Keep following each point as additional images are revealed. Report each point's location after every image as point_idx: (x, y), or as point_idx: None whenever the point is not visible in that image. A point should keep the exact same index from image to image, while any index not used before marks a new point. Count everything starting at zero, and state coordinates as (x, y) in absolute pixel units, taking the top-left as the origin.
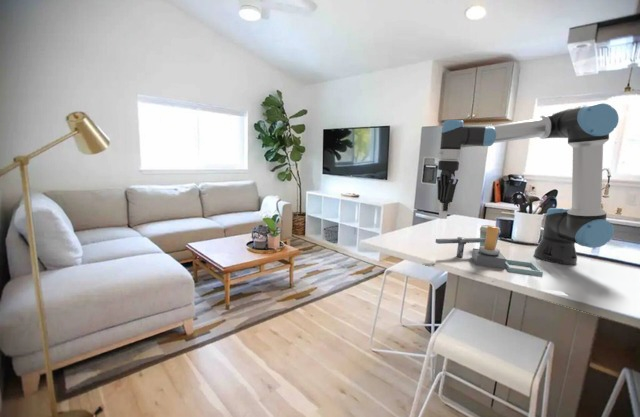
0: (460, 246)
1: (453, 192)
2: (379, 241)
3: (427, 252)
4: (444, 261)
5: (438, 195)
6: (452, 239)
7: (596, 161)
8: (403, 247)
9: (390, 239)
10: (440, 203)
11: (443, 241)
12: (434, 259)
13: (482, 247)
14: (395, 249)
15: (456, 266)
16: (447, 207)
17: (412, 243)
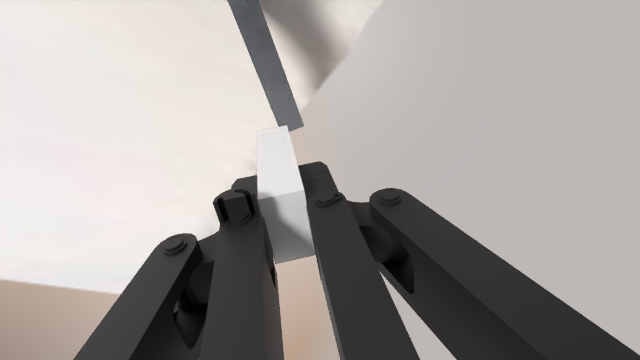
0: None
1: (516, 283)
2: (89, 282)
3: (175, 107)
4: (289, 61)
5: (189, 342)
6: (262, 32)
7: None
8: (139, 200)
9: (17, 243)
10: (280, 255)
11: (292, 94)
12: None
13: None
14: (187, 231)
15: (343, 27)
16: (332, 181)
17: (32, 151)
